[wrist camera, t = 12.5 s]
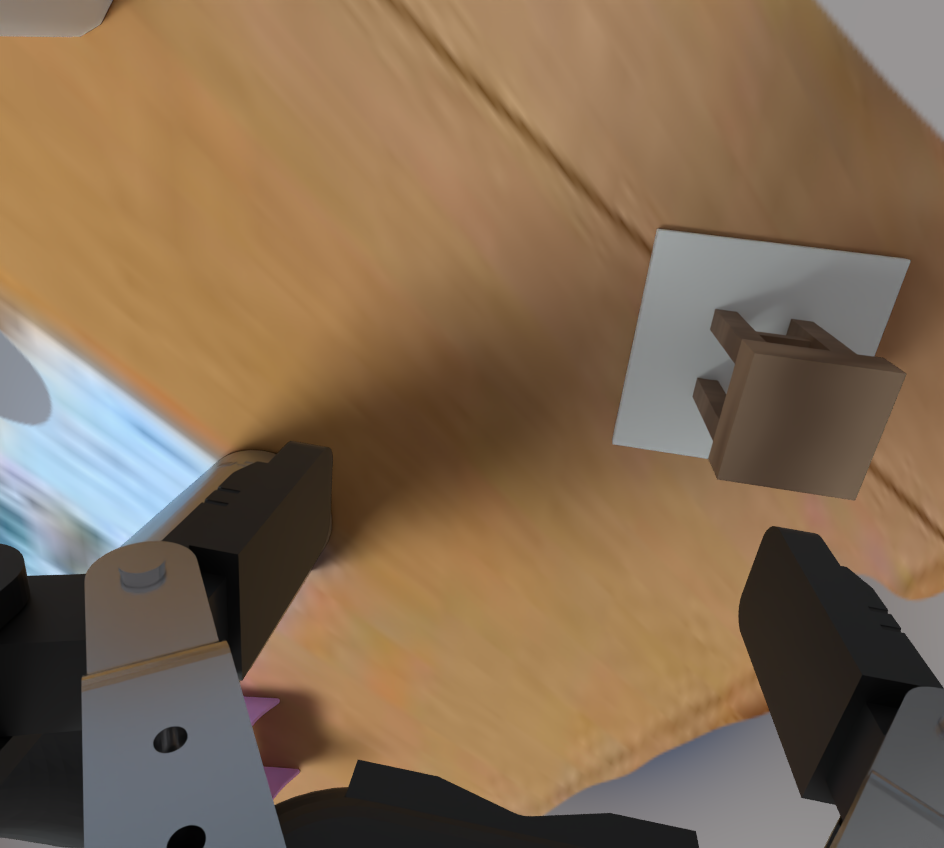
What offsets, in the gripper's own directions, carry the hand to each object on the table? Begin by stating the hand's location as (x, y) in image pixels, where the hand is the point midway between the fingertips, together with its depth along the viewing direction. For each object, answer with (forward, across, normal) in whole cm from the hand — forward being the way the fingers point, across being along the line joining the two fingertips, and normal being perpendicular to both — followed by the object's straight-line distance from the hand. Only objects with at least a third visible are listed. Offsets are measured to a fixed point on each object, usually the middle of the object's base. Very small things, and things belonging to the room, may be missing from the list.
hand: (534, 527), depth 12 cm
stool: (+24, -11, +2) cm, 26 cm away
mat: (+24, -11, +2) cm, 27 cm away
